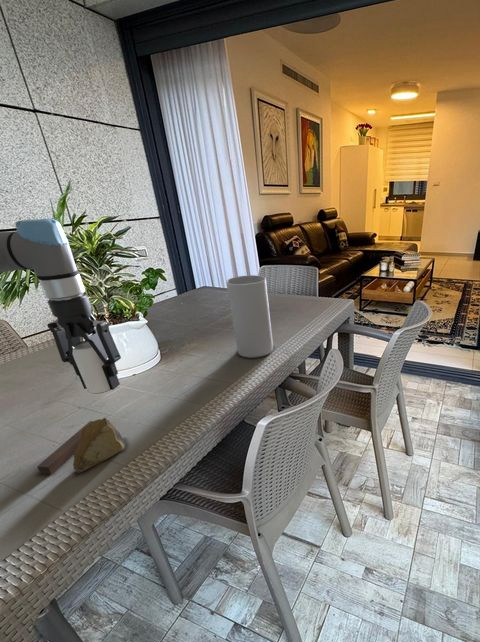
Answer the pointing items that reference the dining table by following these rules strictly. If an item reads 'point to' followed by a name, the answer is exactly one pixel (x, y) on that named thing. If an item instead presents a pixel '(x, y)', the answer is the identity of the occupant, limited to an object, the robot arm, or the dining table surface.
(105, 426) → the rock
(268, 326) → the cylinder vase
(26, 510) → the dining table surface
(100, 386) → the can
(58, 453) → the walnut stick
